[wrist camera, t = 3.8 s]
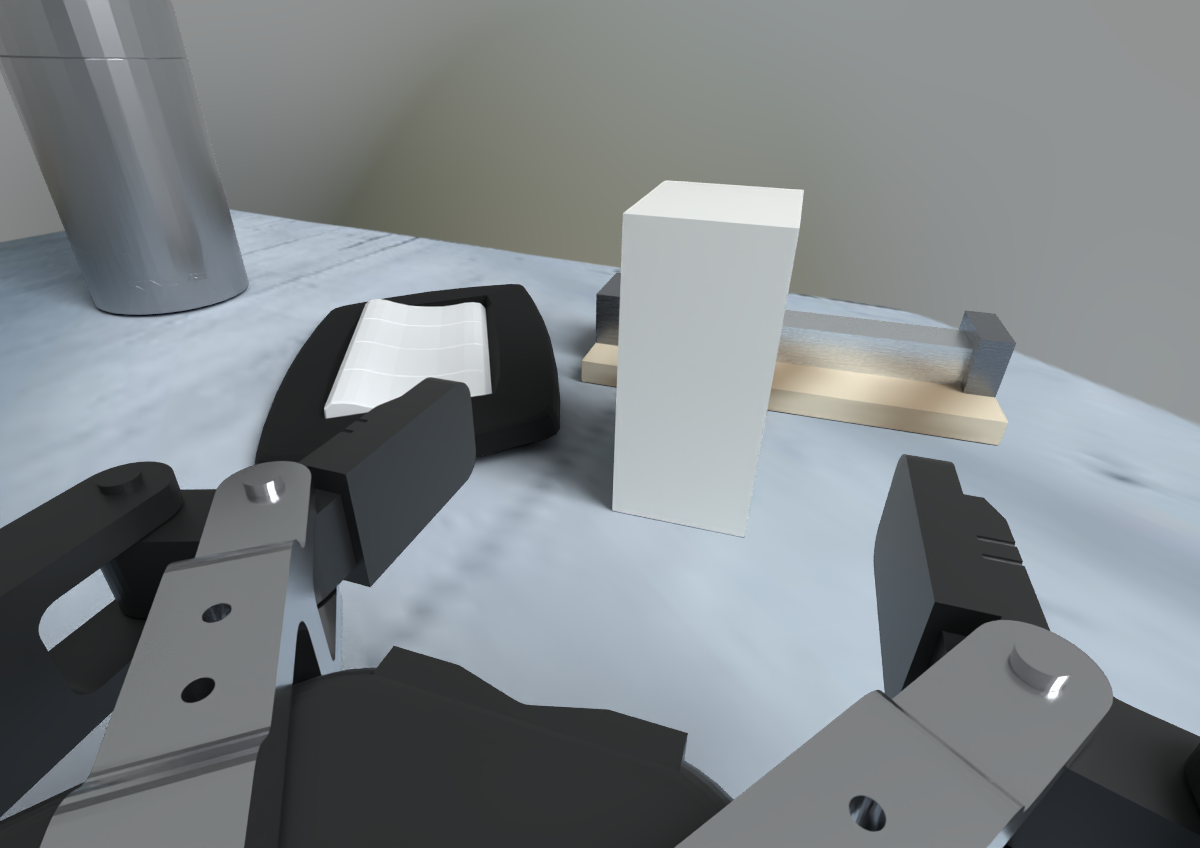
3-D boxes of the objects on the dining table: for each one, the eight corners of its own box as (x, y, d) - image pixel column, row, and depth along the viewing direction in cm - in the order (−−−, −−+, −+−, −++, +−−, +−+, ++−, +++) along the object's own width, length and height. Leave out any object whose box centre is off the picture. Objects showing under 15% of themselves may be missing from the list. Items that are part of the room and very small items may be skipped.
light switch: (316, 290, 40) (531, 263, 42) (330, 331, 42) (537, 304, 44) (211, 458, 24) (575, 402, 25) (240, 517, 25) (581, 461, 27)
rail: (595, 342, 35) (596, 294, 33) (615, 318, 38) (616, 272, 37) (995, 397, 30) (1016, 343, 29) (977, 363, 33) (995, 313, 32)
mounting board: (581, 381, 33) (581, 360, 33) (624, 322, 41) (625, 304, 40) (998, 445, 28) (1008, 422, 28) (961, 365, 36) (968, 346, 35)
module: (612, 510, 24) (623, 213, 18) (650, 425, 29) (668, 177, 24) (744, 537, 23) (799, 228, 17) (759, 443, 28) (804, 187, 23)
